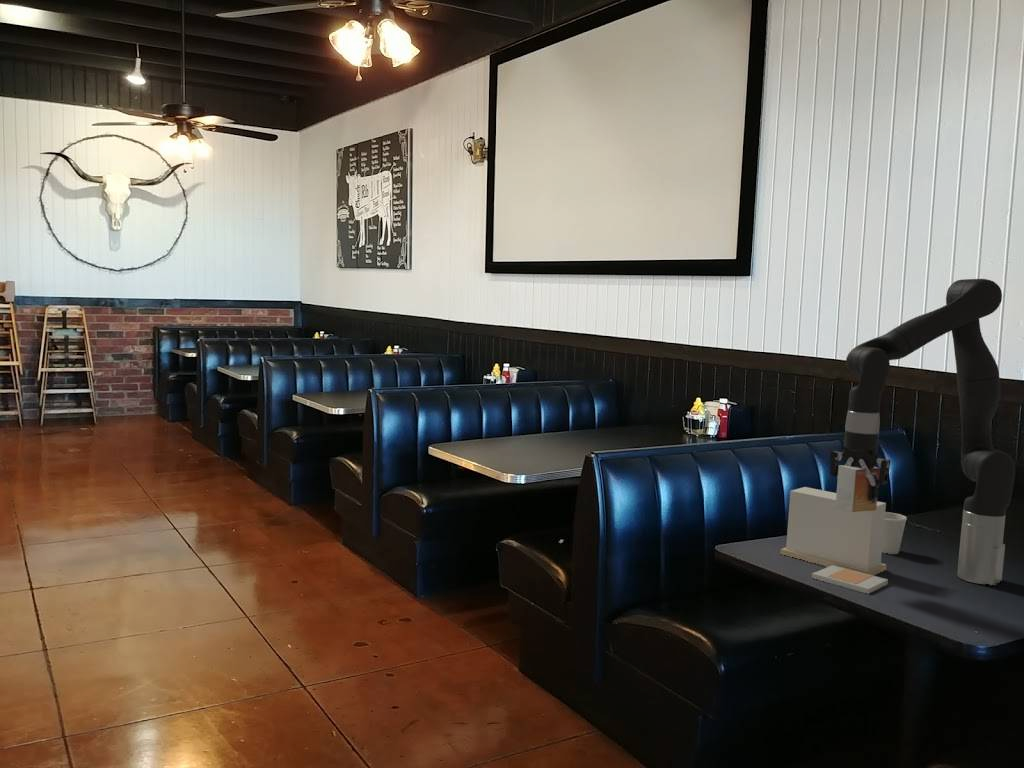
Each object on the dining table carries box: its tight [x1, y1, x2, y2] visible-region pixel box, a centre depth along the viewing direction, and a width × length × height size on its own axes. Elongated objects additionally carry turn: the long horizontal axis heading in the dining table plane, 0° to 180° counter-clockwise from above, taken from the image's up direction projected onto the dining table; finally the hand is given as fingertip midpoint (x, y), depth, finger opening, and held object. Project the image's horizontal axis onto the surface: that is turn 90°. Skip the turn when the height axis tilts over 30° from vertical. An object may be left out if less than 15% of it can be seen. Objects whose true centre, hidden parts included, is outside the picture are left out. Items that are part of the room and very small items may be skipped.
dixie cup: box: [882, 511, 908, 555], centre depth 237 cm, size 8×8×10 cm
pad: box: [811, 565, 889, 595], centre depth 210 cm, size 14×11×1 cm
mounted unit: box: [779, 486, 887, 576], centre depth 224 cm, size 24×10×18 cm, turn 44°
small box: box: [836, 464, 880, 512], centre depth 208 cm, size 8×6×10 cm
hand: (856, 497), depth 208 cm, fingers closed on small box, 6 cm apart
